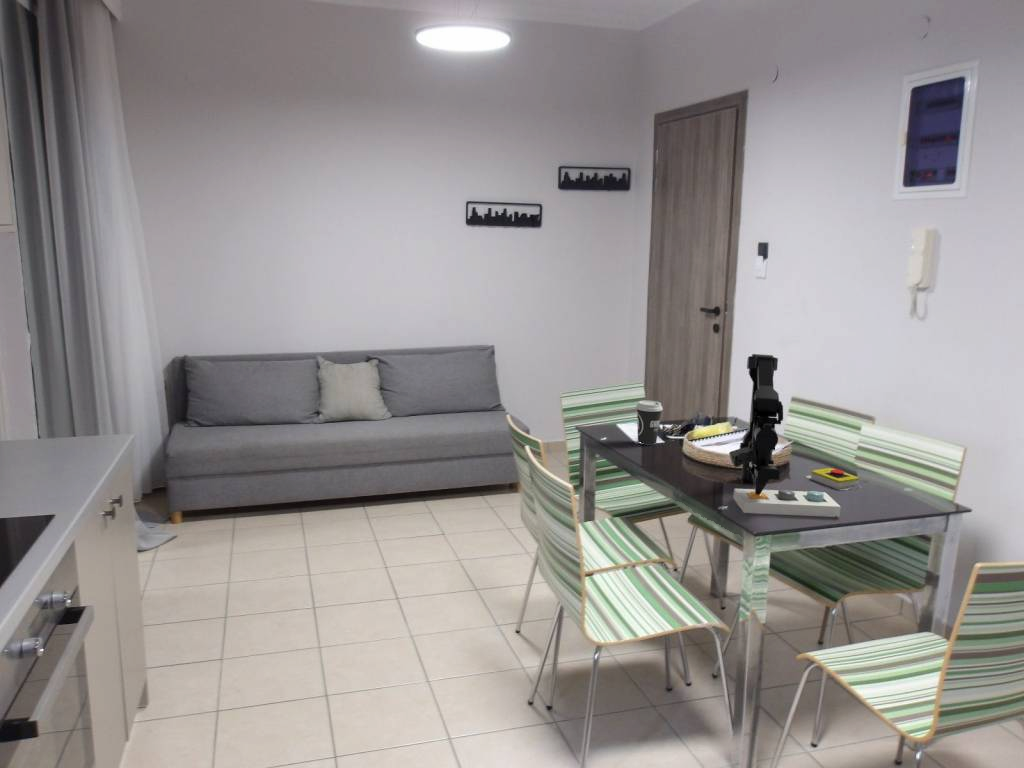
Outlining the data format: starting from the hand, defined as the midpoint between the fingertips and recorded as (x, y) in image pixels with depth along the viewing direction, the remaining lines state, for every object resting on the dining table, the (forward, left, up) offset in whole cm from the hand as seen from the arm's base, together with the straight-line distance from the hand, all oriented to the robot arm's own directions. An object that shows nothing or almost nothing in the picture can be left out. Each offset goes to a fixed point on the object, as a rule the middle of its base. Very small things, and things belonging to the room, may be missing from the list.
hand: (757, 494), depth 224 cm
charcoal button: (0, +8, -2) cm, 8 cm away
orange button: (0, 0, -2) cm, 3 cm away
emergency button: (-26, +31, -4) cm, 41 cm away
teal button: (0, +16, -2) cm, 16 cm away
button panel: (0, +8, -4) cm, 9 cm away
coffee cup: (-64, -23, -4) cm, 68 cm away
